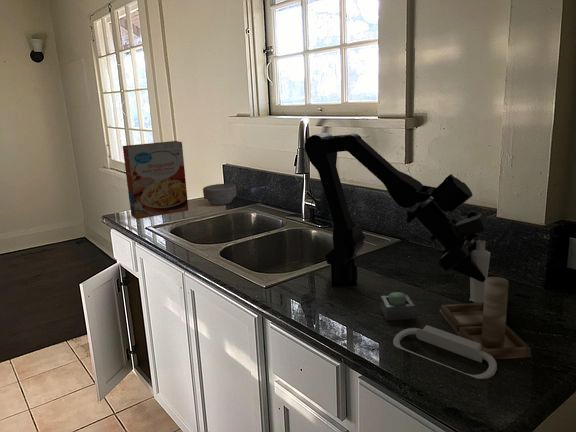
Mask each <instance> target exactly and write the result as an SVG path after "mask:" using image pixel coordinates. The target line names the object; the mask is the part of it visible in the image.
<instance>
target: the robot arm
mask: <svg viewBox="0 0 576 432" xmlns="http://www.w3.org/2000/svg"><path fill="white" fill-rule="evenodd" d="M303 145H304V151H305V153H306V156H307V158H308V160H309V163H311V165H312V166H313V167H314V168H315V169H316V171H317V173H318V176H319V179H320V183H321V185H322V189H323V193H324V195H325V196H324V197H325V200H326V202H327V207H328V210H329V214H330V217H331V221H332V225H333V228H332V229H333V230H332V245H333V246H332V247H333V248H332V249H331V250H330V251H329V252H328V253H327V254H326V255H325V256H324V258H325V261H326V264H327V265H329V276H328V279H329V283H330V286H331V287H332V288H339V287H356V286H357V284H358V283H357V281H358V265H357V264H356V261H355V259H354V258H355V257H357V255H358V253H359V252H360V251H361V250H362V249H363V247H364V245H365V241H364V240H365V239H366V237H365V234H364V232H363V227H362V224H361V223H359V224H356V223H355V222H354V221H353V220H352V217H351V214H350V210H349V207H348V204H347V200H346V197H345V196H346V195H345V192H344V190H343V187H342V182H341V179H340V175H339V173H338V172H339V171H338V168H337V160H338V153H340V152H348V153H349V154H350V155H351V156H352V157H354V158H355V160H356V161H358V162H359V163H360V164H361V165H362V166H363V167H364V168H365V169H367V170H368V171H369V172H370V173H371V174H372V175H373V176H375V177H376V178H377V179H378V180H379V181H380V182H381V183H382V184H383V186H384V187H385V188H386V191H387V194H389V196H390V197H391V198H392V199H393V201H394V202H395V203H396V205H398V206H399V207H400V208H402V209H408V210H407V211H406V223H407V224H410V223H411V222H412V221H413V220H416V221H417V222H418V223H419V224H420V225H421V226H422V227H423V228H424V229H425V230H426V231H427V232H428V234H429V235H430V238H429V239H430V240H431V241H432V242H434V241H436V242H437V244H439V245H440V247H441V248H442V253H443V254H442V256H441V257H440V258H439V259H438V260H439V261H438V262H439V263H438V266H439V268H441V269H442V270H443V271H444V272H448V271H449V270H450V271H454V272H458V273H460V274H462V275H464V276H466V277H469V278H470V277H471V278H474V279H476V280H478V281H481V282H484V281H485V279H486V278H485V276H484V275H483V273H482V272H481V271H480V269H479V268H478V266H477V265H476V264H475V262H474V261H473V259H472V254H473V251H474V250H476V241H479V240H481V238H480V237H479V236H480V234H481V233H483V232H485V231H486V229H487V228H488V225H487V222H486V220H485V219H486V216H485V215H483V214H482V213H479V212H478V211H477V210H475V209H474V210H471V211H469V212H468V213H467V218H464V219H463V220H458V219H456V217H451V218H450V217H449V216H448V214H447V213H448V212H450V213H454V212H455V211H456V210H457V209H459V207H461V206H462V205H463V204H464V203H466V202H468V200H470V199H471V198H472V197H473V192H472V190H471V189H470V187H469V186H468V184H466V183H465V182H464V181H462V180H460V179H459V178H457V177H455V176H454V175H453V174H451V173H450V174H449V175H447V176H446V177H445V179H444V180H443V181H441V183H440V184H438V186H430V185H425V184H422V182H420V181H419V180H418V179H416V178H414V177H413V176H411V175H409V174H407V173H406V172H402V171H400V170H398V169H397V168H396V167H395V166H393V165H392V164H391V162H388V161H387V159H385V158H384V157H383V156H382V155H381V154H380V153H379V152H378V151H376V150H375V149H374V148H373V147H372V146H371V145H369V143H367V142H366V141H365V140H364V139H363V137H362V136H361V135H360V134H358V133H354V132H353V133H351V134H340V135H332V134H330V133H329V132H321V133H317V134H312V135H310V136H308V138H307V139H306V141H305V143H304V144H303ZM430 198H433V199H431V200H430V201H429V202H428V203H426V202H427V201H428V200H429V199H430ZM417 204H419V205H417ZM415 205H417V206H416V207H415ZM412 207H415V208H414V209H409V208H412ZM445 212H446V213H445ZM477 237H478V238H477ZM474 238H476V239H475V240H474ZM490 271H491V269H490V267H489V268H488V273H489V272H490Z"/></svg>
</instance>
